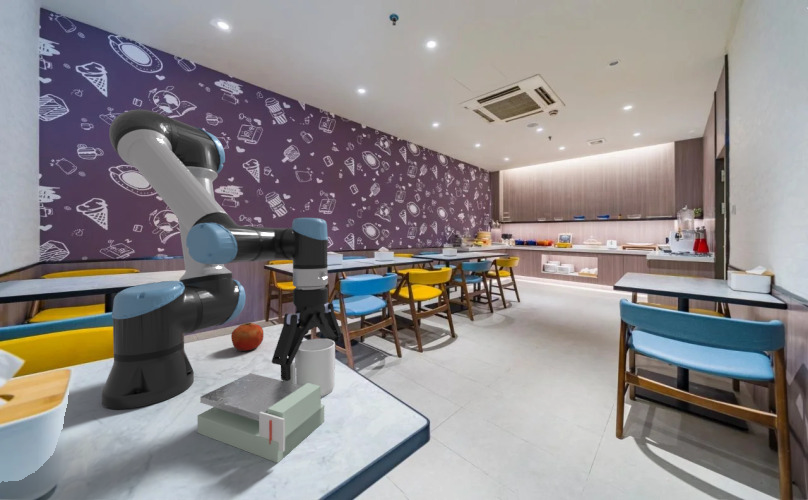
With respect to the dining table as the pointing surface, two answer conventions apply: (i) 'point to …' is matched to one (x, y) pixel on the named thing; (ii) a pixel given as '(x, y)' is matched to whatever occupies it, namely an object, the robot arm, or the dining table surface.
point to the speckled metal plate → (249, 395)
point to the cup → (316, 364)
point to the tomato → (247, 336)
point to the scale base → (268, 424)
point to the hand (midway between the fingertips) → (311, 380)
